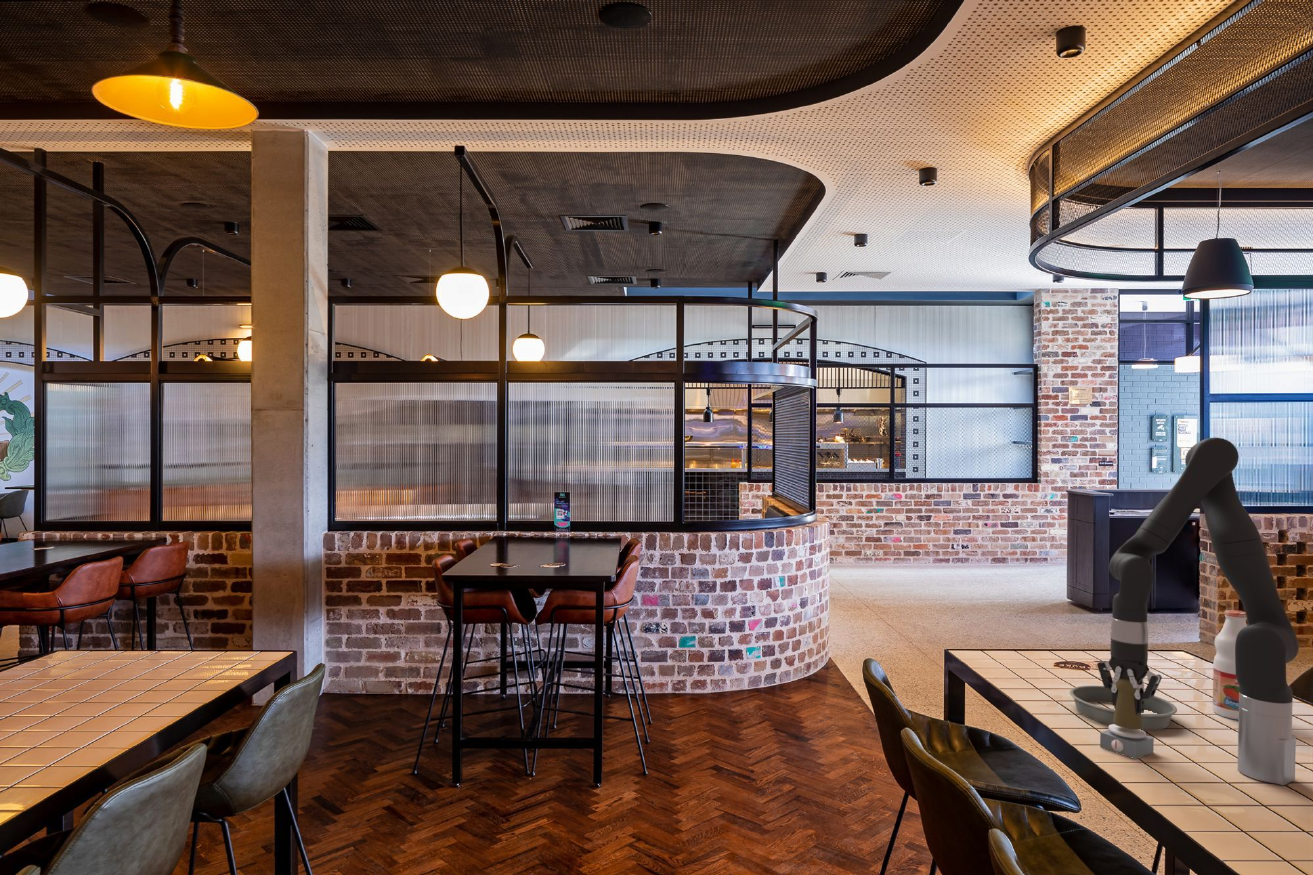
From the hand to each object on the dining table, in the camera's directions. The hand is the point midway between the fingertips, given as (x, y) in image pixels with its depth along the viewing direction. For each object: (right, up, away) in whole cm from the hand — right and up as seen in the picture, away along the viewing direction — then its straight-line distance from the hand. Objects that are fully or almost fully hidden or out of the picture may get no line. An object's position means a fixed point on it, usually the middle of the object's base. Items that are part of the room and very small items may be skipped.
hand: (1127, 710), depth 181 cm
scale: (0, -9, 0) cm, 9 cm away
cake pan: (+13, -10, +24) cm, 30 cm away
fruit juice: (+45, -11, +26) cm, 53 cm away
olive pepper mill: (0, -3, 0) cm, 3 cm away
